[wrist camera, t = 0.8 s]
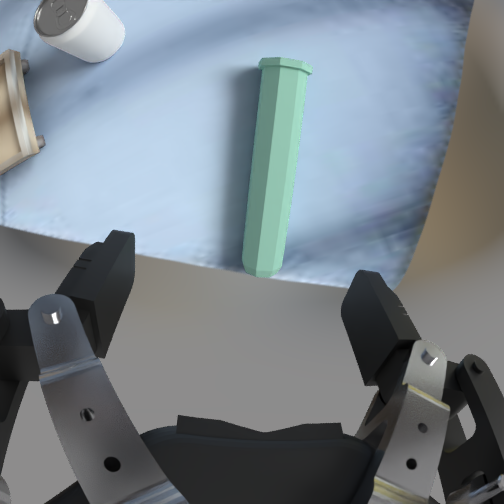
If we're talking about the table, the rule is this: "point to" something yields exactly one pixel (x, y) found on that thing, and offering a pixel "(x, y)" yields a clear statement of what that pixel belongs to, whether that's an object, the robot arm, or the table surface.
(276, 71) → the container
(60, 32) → the can
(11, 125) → the shallow wooden tray
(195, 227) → the table surface
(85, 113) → the table surface
